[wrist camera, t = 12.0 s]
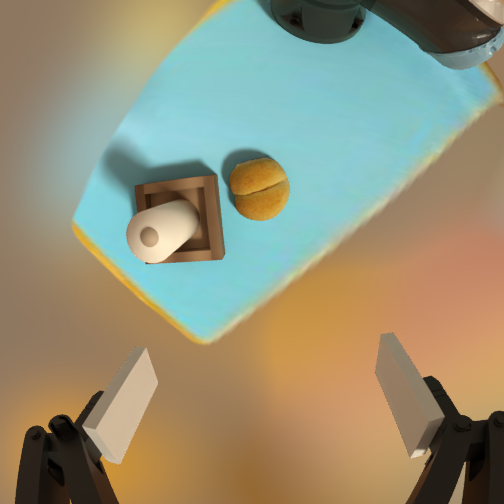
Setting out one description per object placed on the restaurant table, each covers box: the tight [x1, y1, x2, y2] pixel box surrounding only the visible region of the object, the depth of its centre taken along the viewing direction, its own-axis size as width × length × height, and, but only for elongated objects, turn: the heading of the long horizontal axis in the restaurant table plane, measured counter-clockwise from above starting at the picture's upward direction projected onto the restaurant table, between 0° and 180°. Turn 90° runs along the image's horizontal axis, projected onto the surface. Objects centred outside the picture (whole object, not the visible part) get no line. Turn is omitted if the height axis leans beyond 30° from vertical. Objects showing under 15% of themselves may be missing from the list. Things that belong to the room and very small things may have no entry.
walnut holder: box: [135, 175, 225, 264], centre depth 42 cm, size 12×12×3 cm
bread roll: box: [229, 157, 290, 221], centre depth 40 cm, size 8×9×4 cm
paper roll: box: [126, 199, 200, 263], centre depth 36 cm, size 6×6×12 cm
